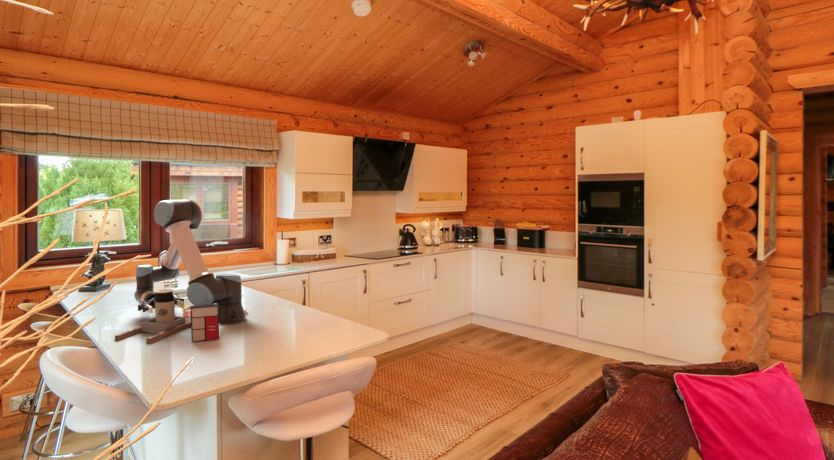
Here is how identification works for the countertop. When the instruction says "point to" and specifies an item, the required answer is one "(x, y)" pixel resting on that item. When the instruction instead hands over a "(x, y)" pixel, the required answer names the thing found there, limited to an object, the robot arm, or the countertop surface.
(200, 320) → the cream and red box
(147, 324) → the square tray
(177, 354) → the countertop surface
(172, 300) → the travel mug
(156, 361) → the countertop surface
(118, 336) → the switch track
